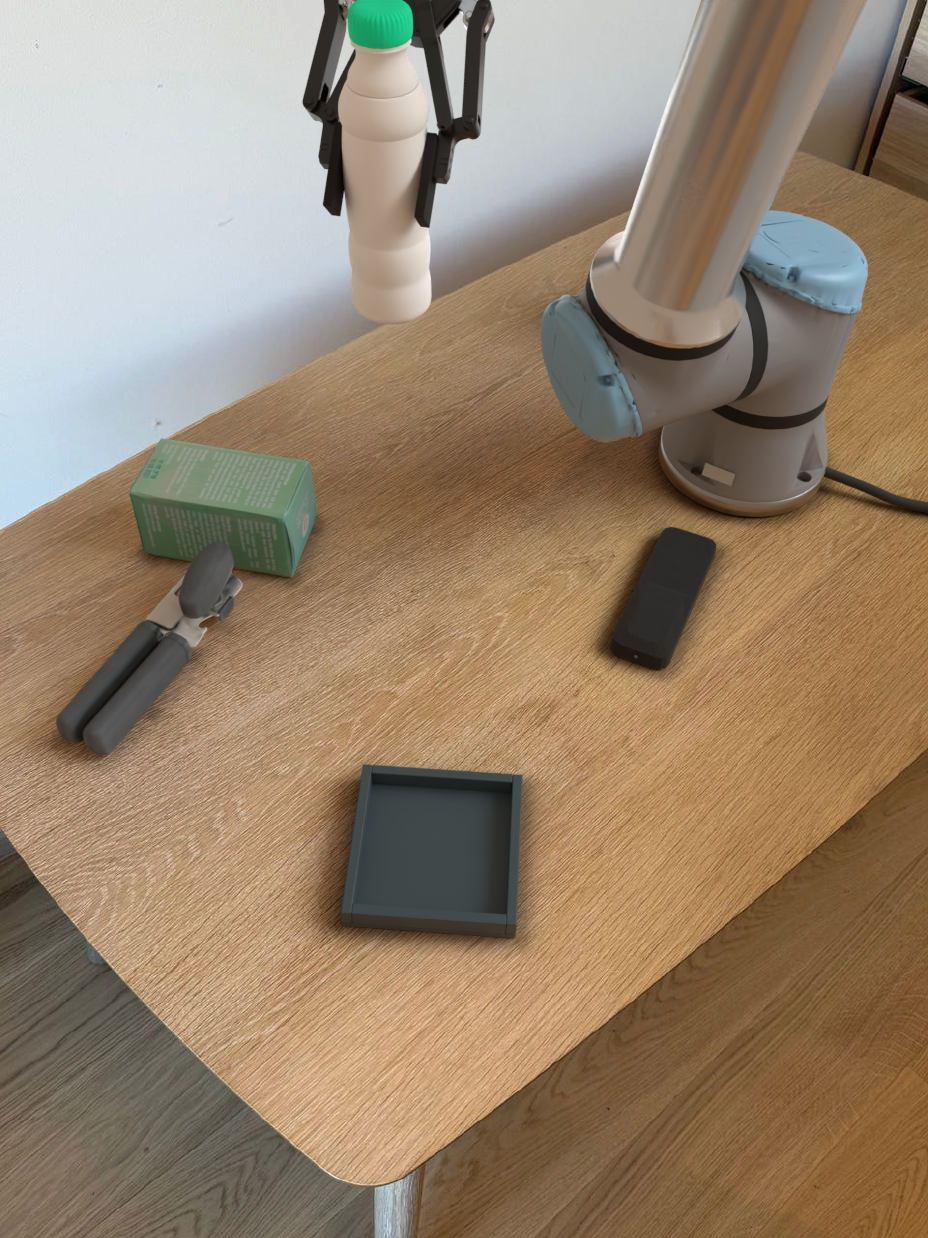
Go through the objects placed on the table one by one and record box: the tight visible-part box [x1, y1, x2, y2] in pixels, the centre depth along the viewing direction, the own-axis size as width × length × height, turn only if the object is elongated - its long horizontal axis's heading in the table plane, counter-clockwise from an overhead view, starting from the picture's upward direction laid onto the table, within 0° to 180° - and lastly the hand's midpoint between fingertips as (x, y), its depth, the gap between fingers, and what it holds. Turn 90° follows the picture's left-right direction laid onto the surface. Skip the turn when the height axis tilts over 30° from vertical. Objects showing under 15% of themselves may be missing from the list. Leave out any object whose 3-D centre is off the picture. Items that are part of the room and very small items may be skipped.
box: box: [128, 437, 317, 579], centre depth 93 cm, size 7×14×8 cm, turn 79°
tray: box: [340, 763, 523, 939], centre depth 75 cm, size 11×11×2 cm
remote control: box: [609, 526, 717, 671], centre depth 91 cm, size 5×2×15 cm
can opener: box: [55, 542, 244, 757], centre depth 84 cm, size 19×5×6 cm, turn 154°
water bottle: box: [338, 0, 432, 325], centre depth 89 cm, size 7×7×25 cm
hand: (376, 215), depth 88 cm, fingers closed on water bottle, 7 cm apart
